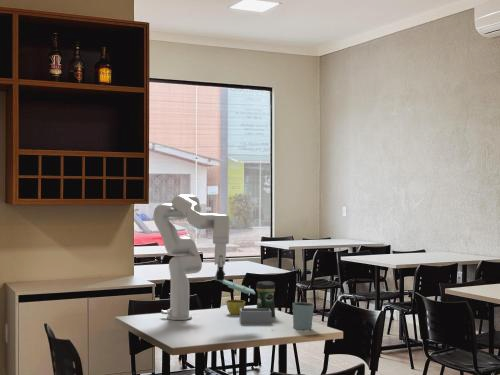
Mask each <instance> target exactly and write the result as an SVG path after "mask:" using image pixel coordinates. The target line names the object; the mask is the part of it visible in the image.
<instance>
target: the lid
mask: <svg viewBox="0 0 500 375" xmlns="http://www.w3.org/2000/svg"><path fill="white" fill-rule="evenodd" d="M217 271H218V270H216V272H215V276H214V278H213V279H214V280H215V281H217V282H220V283H222V284H223V285H226V286H227V288H230V289H233V290H235V291H238V292H241V293H244V294H247V295H248V294H252V295H256V292H255V290H254V289H253V288H250V287H247V286H245V285H244V284H243V285H241V284H238V283H235V282H234V281H229V280H227V279H224V280H217ZM225 276H226V272H224V277H225Z"/></svg>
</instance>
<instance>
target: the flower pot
mask: <svg viewBox="0 0 500 375" xmlns="http://www.w3.org/2000/svg"><path fill="white" fill-rule="evenodd" d="M225 303H226V308H227V311H228V312H229V314H230V315H231V316H232V315H233V316H235V315H236V316H238V315H239V316H240V308H245V306H246V301H245V300H243V299H228V300H226V301H225Z"/></svg>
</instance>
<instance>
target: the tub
mask: <svg viewBox="0 0 500 375" xmlns="http://www.w3.org/2000/svg"><path fill="white" fill-rule="evenodd" d="M272 318H273V317H272V311H271V310H270V308H257V307H244V308H240V315H239V322H240V324H241V325H242V324H243V325H245V324H247V325H248V324H250V325H251V324H252V325H254V324H255V325H258V324H259V325H262V324H263V325H265V324H266V325H270V324H271V325H272Z"/></svg>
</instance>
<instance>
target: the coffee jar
mask: <svg viewBox="0 0 500 375" xmlns="http://www.w3.org/2000/svg"><path fill="white" fill-rule="evenodd" d="M275 284H276V283H275V281H271V280H264V281H257V283H256V287H255V288H256V289H255V290H256V292H257V298H256V300H257V301H256V308H270V310H271V311H272V318H274V317H275V316H276V308H275V306H276V305H275V291H276V285H275Z"/></svg>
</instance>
